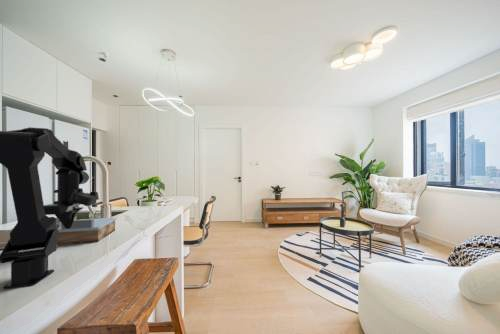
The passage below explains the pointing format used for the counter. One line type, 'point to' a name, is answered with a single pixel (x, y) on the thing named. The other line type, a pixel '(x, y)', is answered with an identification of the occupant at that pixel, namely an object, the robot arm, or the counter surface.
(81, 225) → the lid
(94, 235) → the box
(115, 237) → the counter surface
